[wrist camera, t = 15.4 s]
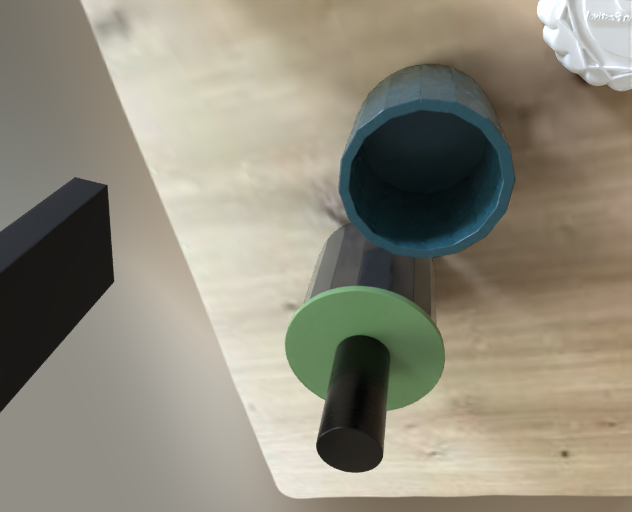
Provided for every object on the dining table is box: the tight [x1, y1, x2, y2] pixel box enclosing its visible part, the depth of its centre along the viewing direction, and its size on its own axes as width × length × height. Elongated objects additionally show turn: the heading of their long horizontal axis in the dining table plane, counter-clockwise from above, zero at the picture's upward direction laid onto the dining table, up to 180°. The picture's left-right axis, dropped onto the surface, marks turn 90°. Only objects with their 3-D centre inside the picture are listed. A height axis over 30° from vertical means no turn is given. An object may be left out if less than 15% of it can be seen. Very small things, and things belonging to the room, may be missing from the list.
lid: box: [285, 286, 445, 473], centre depth 35 cm, size 12×12×10 cm
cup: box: [303, 222, 437, 326], centre depth 43 cm, size 10×10×11 cm
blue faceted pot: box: [338, 65, 515, 259], centre depth 36 cm, size 11×11×10 cm
